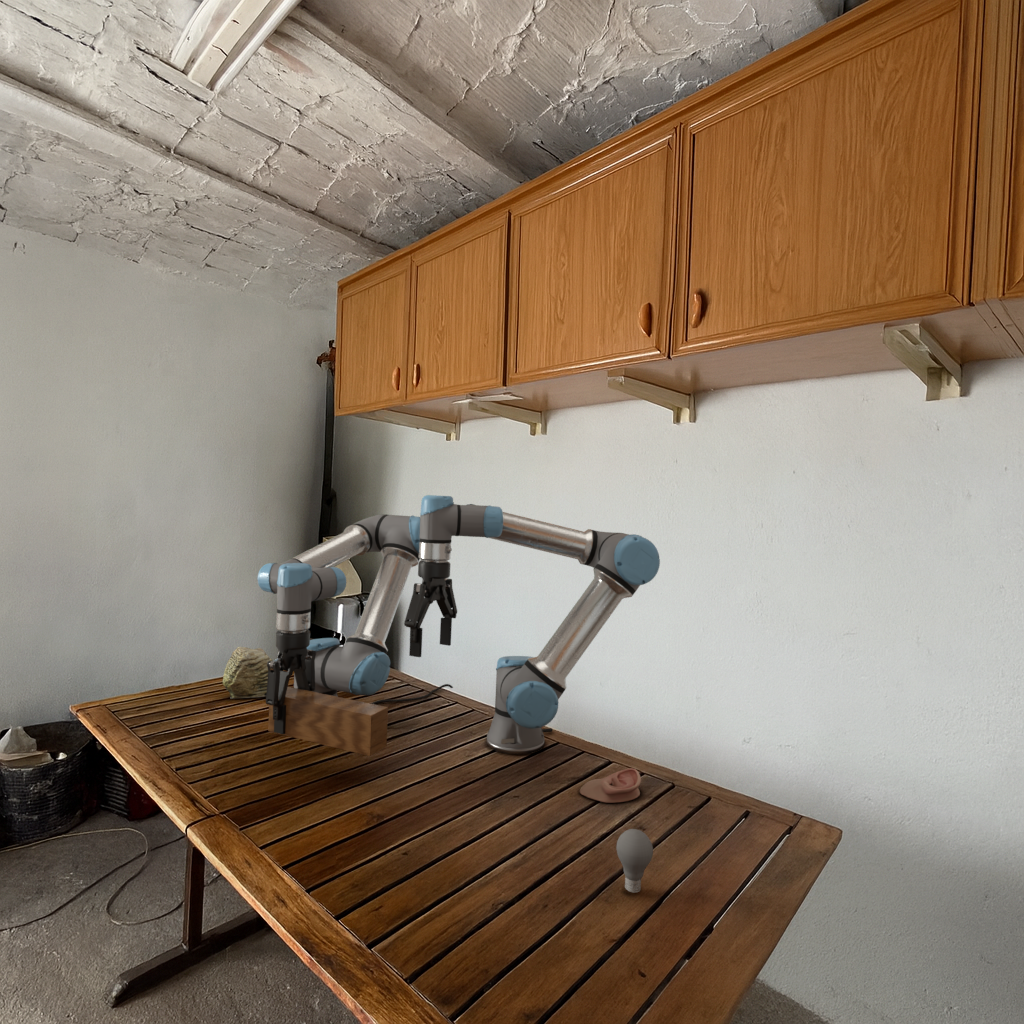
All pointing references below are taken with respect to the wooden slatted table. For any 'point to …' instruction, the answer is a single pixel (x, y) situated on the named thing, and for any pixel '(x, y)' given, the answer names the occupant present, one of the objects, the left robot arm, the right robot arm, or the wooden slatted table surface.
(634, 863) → the light bulb
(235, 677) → the fossil
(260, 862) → the wooden slatted table surface
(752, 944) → the wooden slatted table surface
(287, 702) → the box
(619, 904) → the wooden slatted table surface
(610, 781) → the anatomical model
